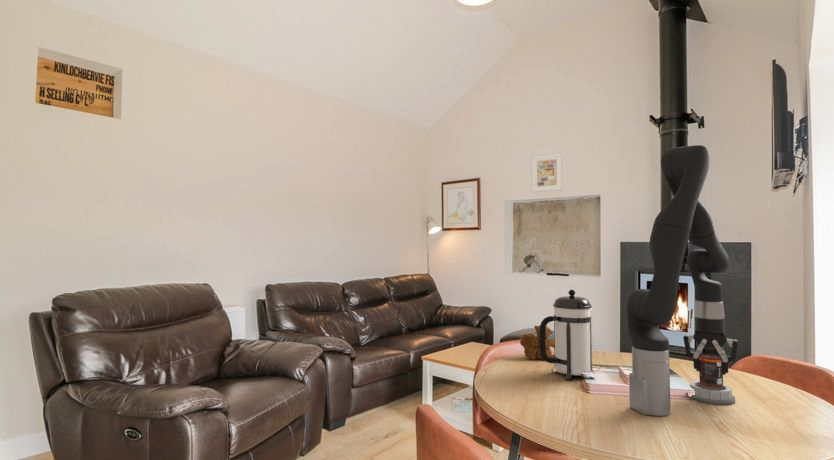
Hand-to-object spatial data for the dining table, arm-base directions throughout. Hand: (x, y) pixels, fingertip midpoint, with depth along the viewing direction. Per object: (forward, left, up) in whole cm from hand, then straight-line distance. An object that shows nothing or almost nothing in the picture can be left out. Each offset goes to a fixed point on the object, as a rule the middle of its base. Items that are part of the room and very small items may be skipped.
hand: (711, 372), depth 135 cm
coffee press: (-30, +28, -8) cm, 42 cm away
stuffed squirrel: (-31, +53, -8) cm, 62 cm away
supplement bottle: (0, 0, -4) cm, 4 cm away
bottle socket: (0, 0, -8) cm, 8 cm away
